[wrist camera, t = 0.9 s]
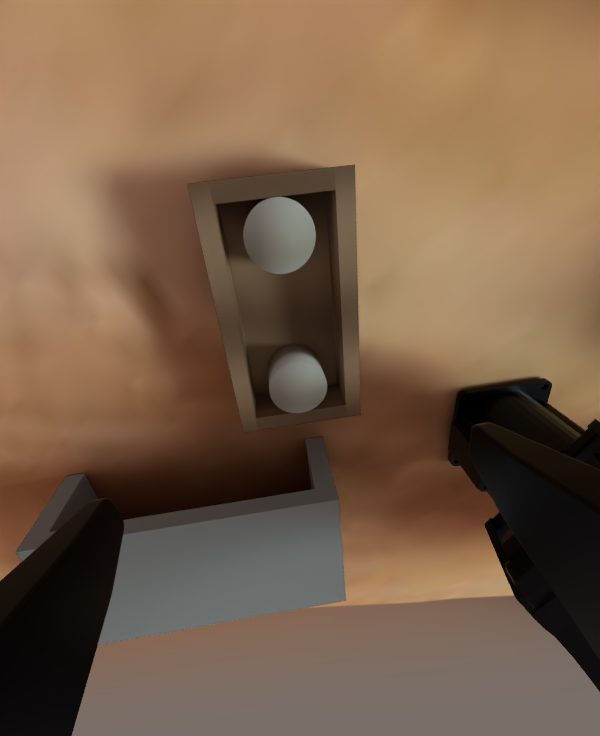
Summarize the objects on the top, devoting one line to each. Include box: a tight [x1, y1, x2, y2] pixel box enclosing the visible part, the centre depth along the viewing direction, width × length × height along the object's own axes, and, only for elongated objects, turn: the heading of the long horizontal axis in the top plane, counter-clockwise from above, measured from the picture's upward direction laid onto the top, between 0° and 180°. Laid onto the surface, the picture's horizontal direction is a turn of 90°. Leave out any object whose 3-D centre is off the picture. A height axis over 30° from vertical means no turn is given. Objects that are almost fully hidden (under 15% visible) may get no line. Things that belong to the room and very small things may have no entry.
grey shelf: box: [15, 437, 346, 645], centre depth 23 cm, size 17×10×6 cm, turn 96°
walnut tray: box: [188, 165, 361, 432], centre depth 18 cm, size 12×6×4 cm, turn 6°
